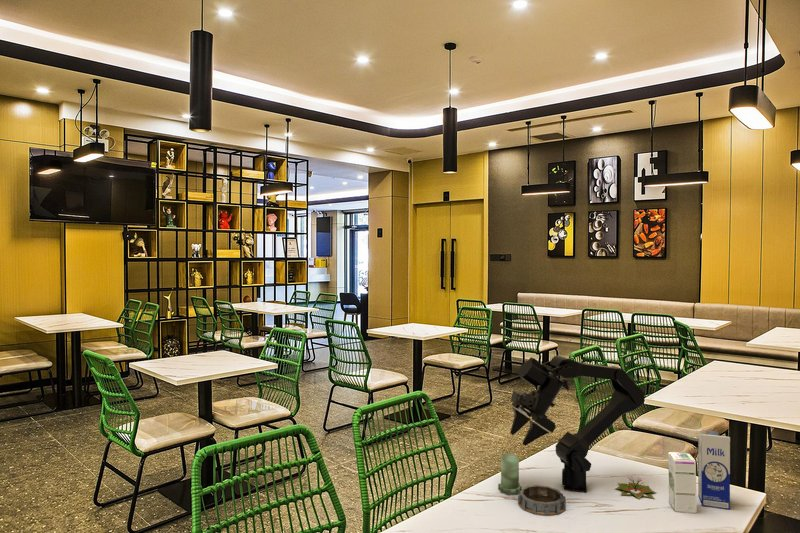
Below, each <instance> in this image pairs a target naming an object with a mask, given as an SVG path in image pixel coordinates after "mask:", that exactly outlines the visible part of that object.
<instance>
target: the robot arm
mask: <svg viewBox="0 0 800 533" xmlns="http://www.w3.org/2000/svg"><path fill="white" fill-rule="evenodd" d="M517 373H518V374H517V375H518V377H520V378H521V379H523V380H524V381H525V382H526V383H528V384H530V385H531V386H533V387H535V388H536V387H537V388H536V390H531V391H530V393H529V392H528V393H527V392H525V391H524V392H523V391H518V390H512V392H511V398H510V402H512V403H511V409H512V411H513V415H514V417H513V420H512V425H511V428H510V432H509V433H510V435H512V436H514V435H515V434H517V433H518V432H519V431H520V430H521V429H522V428H523V427H525V426H526V425H527V423H529V428H528V430H527V433H526V434H525V437H524V439H523V440H522V445H523V446H528V445H529V444H530V443H532V442H534V441H536V440H537V439H539V438H541V437H543V436H544V435H547V434H548V435H549V434H550V433H551V434H554V431H555V430H556V423H555V422H554V421H552V419H550V418H548V415H546V414H547V412H548V411H549V410H550V407H552V408H554V406H555V403H553V402H554V401H555V399H556V398H557V396H558V395H559V393H560V391H561V389H564V390H567V391H569V390H570V388H569V387H570V386H569V384H568V383H569V382H568V380H566V379H574V378H575V379H576V378H580V377H587V378H596V379H601V380H603V379H604V380H609V381H610V384H611V387H612V389H613V390H614V391H613V392H612V394H611V397H610V400H609V403H607V405H605V407H603V408H601V410H600V411H599V412H598V413H597V414H595V416H593V418H592V419H591V420H590V421H588V422H587V423H586V424H585V425H584V426H582V428H581V429H579V431H577V432H576V433H573V434H572V433H571V432H570V431H567V432H565V433H564V434H563V436H562V437H561V438H559V439H557V441H558V442H557V443H556V444H555V454H556V456H557V457H558V458H559V460H560V462H561V463H563V468H562V469H561V484H562V486H563V489H564V490H566V491H576V492H584V493H587V492H588V491H587V490H588V488H587V487H588V486H587V472H590V471H591V468H592V463H591V462H590V461H589V460H588V459H587V458H586V457H587V456H588V454H589V449H590V446H591V445H592V444H593V443H594V442H595V441H596V440H597V439H598V438H600V436H602V434H604V433H605V432H606V431H607V430H608V429H609V428H610V427H611V426H612V425H613V424H614V423H615V422H616V421H618V419H619V418H621V417H622V416H623V415H624V414H628V413H631V412H633V411H635V410H637V409H638V408H640V407H641V406H643V404H644V403H645V402H646V401H645V397H646V396H645V393H644V391H643V390H642V389H641V388H640V387H639V386H638V385H637V384H636V382H635V381H634V380H632V379H631V377H630V376H629V375H628V374H627V372H626V371H625V370H624V368H621V367H618V366H614V365H612V366H608V365H600V364H596V363H595V364H593V363H587V362H580V361H576V360H574V359H570V358H567V357H565V356H562V355H554V356H553V357H552V358H551V360H548V361H547V362H544V363H540V361H539V360H537V359H536V358H534V357H529V359H528V360H526V361H524V363H522V364H521V365H520V367H519V369H518V371H517ZM549 374H551V375H549ZM558 376H559V377H562V379H561V378H559V377H558ZM564 378H565V379H564Z"/></svg>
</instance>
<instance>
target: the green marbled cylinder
mask: <svg viewBox="0 0 800 533" xmlns="http://www.w3.org/2000/svg"><path fill="white" fill-rule="evenodd" d="M519 458H520V457H519V456H518V455H517V454H513V453H504V454H502V455H500V483H498V487H497V488H498V490H499V492H500V493H501V494H505V495H507V496H514V495H515V496H519V491H521V489H523V486H521V484H520V468H519V467H520V462H519V461H520V459H519Z"/></svg>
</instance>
